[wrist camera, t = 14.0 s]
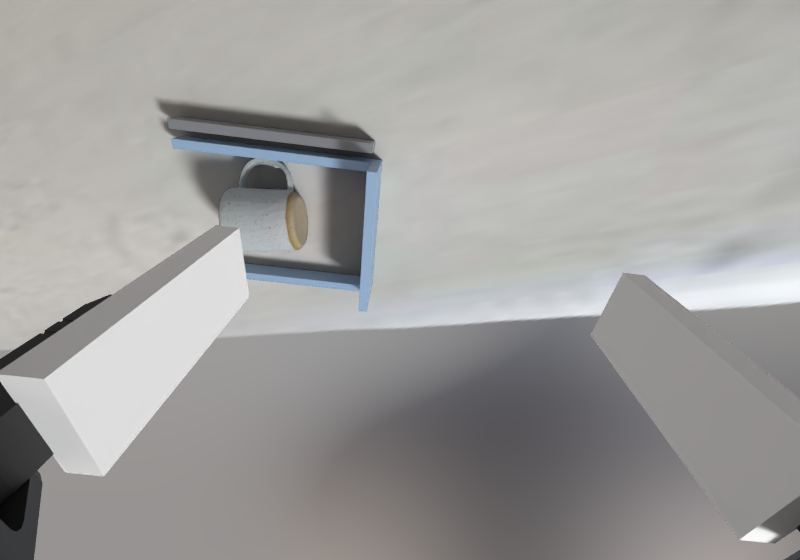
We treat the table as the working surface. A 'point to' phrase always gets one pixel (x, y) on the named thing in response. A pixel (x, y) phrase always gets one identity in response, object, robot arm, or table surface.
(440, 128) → the table surface
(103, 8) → the table surface
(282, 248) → the ceramic mug
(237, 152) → the frame
